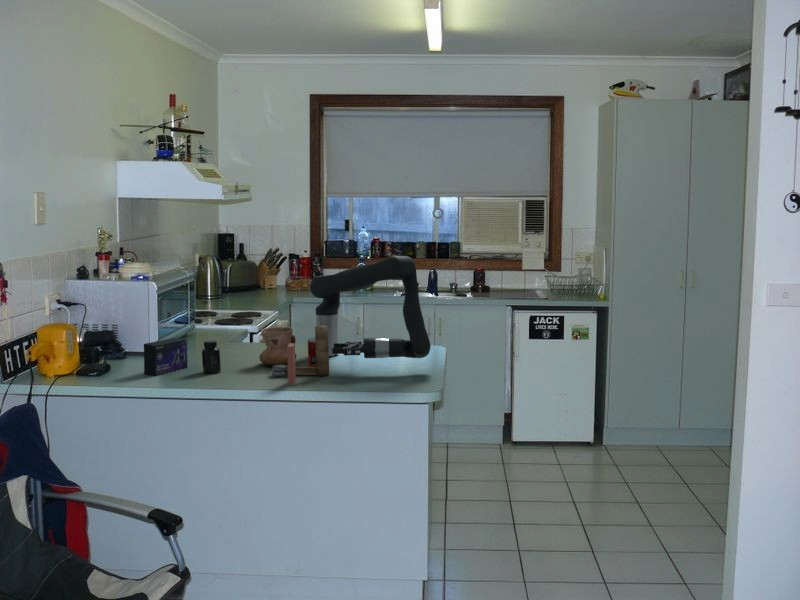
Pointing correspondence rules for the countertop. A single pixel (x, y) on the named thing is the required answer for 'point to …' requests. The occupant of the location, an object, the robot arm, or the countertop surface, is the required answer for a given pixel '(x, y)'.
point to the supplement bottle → (211, 358)
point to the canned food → (311, 352)
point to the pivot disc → (279, 373)
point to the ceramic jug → (276, 345)
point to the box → (165, 356)
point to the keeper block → (291, 365)
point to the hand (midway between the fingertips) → (333, 348)
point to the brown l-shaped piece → (321, 356)
